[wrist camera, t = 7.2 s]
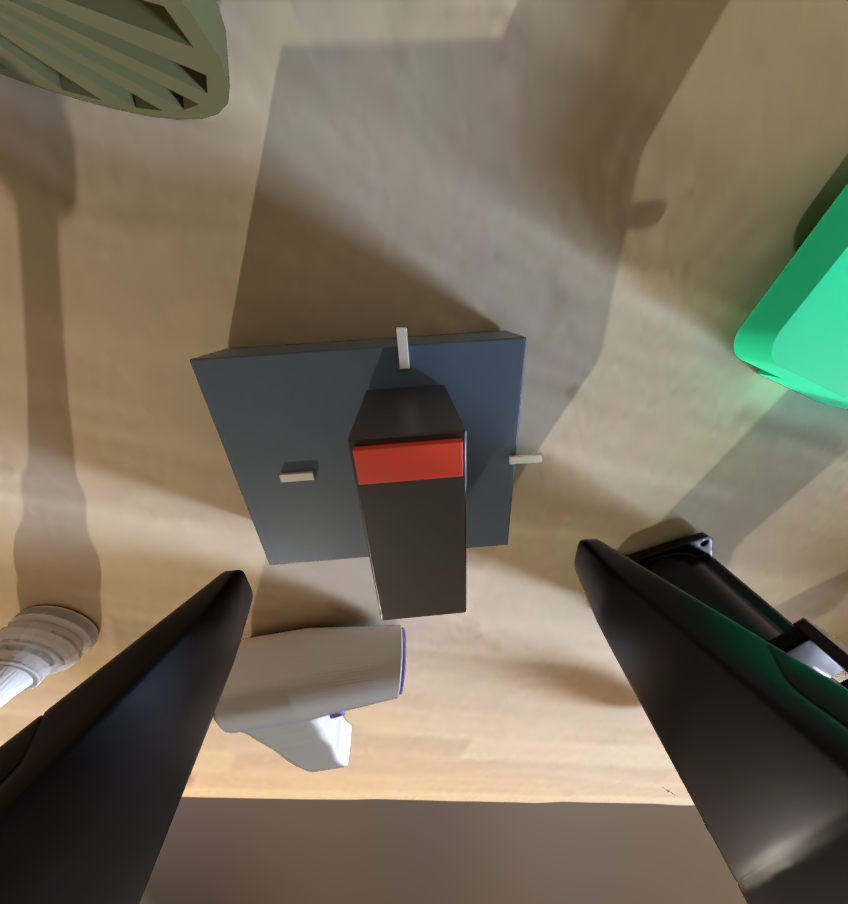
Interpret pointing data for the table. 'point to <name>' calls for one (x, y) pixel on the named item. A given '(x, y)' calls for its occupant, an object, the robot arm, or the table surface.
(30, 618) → the chess piece
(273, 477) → the base
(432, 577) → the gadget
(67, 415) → the table surface
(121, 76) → the cannon
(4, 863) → the robot arm
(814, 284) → the camera mount
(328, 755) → the infrared thermometer
